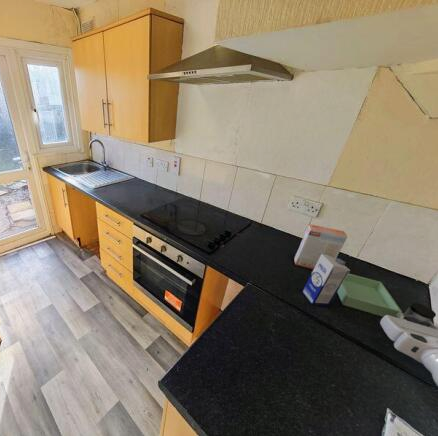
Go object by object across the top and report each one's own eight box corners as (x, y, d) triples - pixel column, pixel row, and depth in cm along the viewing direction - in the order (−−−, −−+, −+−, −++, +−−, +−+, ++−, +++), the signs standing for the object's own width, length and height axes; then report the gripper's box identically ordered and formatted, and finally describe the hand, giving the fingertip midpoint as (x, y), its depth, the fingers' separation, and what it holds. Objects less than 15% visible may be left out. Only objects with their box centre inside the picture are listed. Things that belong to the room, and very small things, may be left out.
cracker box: (325, 267, 112) (344, 230, 102) (328, 274, 107) (348, 237, 97) (293, 258, 117) (308, 223, 107) (294, 265, 112) (311, 228, 102)
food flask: (408, 330, 79) (429, 306, 74) (416, 343, 75) (440, 318, 69) (388, 324, 81) (408, 300, 76) (395, 336, 77) (417, 312, 71)
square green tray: (375, 289, 99) (381, 282, 97) (395, 320, 85) (402, 312, 83) (331, 277, 105) (335, 270, 103) (342, 304, 90) (347, 296, 88)
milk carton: (301, 291, 96) (321, 253, 87) (317, 292, 96) (338, 254, 87) (312, 304, 90) (334, 265, 80) (329, 305, 90) (353, 266, 80)
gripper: (500, 364, 59) (462, 323, 71) (400, 333, 66) (379, 300, 78) (483, 377, 62) (448, 336, 74) (388, 346, 69) (370, 313, 81)
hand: (412, 317), depth 76 cm, fingers closed on food flask, 5 cm apart
